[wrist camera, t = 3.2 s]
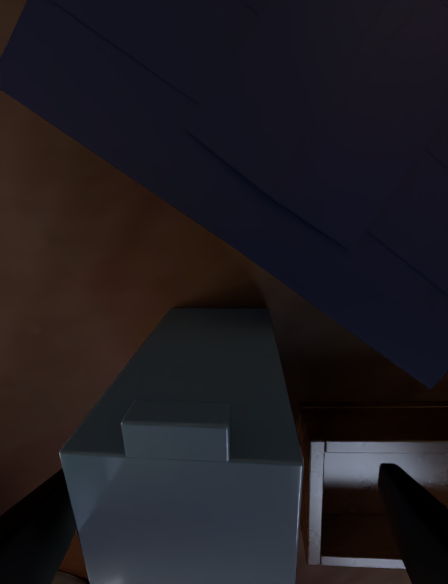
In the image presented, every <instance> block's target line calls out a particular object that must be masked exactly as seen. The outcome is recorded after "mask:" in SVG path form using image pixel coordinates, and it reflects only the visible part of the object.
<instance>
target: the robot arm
mask: <svg viewBox="0 0 448 584" xmlns="http://www.w3.org/2000/svg"><path fill="white" fill-rule="evenodd" d="M378 492H379V495H380V498H381V501H382V504H383V507H384V510H385V513H386V516H387V519H388V521H389V524H390V527H391V530H392V533H393V536H394V539H395V542H396V545H397V548H398V551H399V553H400V556H401V559H402V561H403V564H404V566H405V568H406V571H407V573H408V575H409V578H410V580H411V582H412V584H448V508H447V507H446V506H445V505H444V504H442V503H441V502H440V501H439V500H438V499H437V498H435V497H434V496H433V495H432V494H431V493H430V492H428V491H427V490H426V489H425V488H424V487H423V486H421V485H420V484H419V483H418V482H417V481H416V480H414V479H413V478H412V477H411V476H410V475H409V474H407V473H406V472H405V471H404V470H403V469H402V468H400V467H399V466H398V465H396V464H394V463H381V464H380V467H379V475H378ZM75 530H76V524H75V520H74V515H73V511H72V507H71V503H70V498H69V494H68V490H67V486H66V481H65V477H64V473H63V469H61V470H59V471H58V472H57V473H56V474H54V475H53V476H52V477H50V478H49V479H48V480H46V481H45V482H44V483H43V484H41V485H40V486H39V487H37V488H36V489H35V490H33V491H32V492H31V493H29V494H28V495H27V496H26V497H24V498H23V499H22V500H20V501H19V502H18V503H16V504H15V505H14V506H13V507H11V508H10V509H9V510H7V511H6V512H5V513H3V514H2V515H1V516H0V584H52V582H53V580H54V578H55V576H56V574H57V571H58V569H59V567H60V565H61V563H62V561H63V559H64V557H65V554H66V552H67V550H68V548H69V545H70V543H71V541H72V538H73V536H74V533H75Z"/></svg>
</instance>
